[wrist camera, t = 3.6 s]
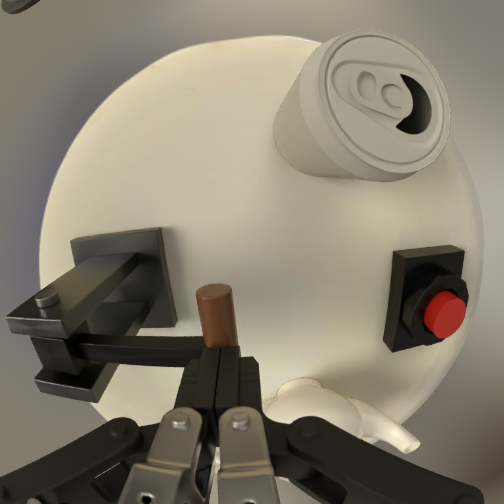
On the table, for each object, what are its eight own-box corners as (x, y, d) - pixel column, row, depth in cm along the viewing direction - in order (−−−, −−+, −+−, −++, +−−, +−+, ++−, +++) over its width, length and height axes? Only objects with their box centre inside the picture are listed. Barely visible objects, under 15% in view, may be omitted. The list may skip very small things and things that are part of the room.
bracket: (161, 226, 21) (82, 286, 10) (177, 320, 23) (137, 426, 12) (76, 237, 21) (-21, 289, 9) (98, 321, 23) (32, 404, 12)
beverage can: (347, 184, 20) (449, 203, 9) (264, 166, 20) (293, 158, 8) (359, 106, 19) (459, 61, 7) (278, 85, 18) (317, -1, 7)
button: (427, 293, 19) (438, 303, 18) (457, 287, 19) (469, 295, 18) (419, 332, 20) (430, 342, 19) (449, 324, 20) (460, 333, 19)
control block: (392, 250, 22) (417, 265, 18) (451, 244, 22) (477, 256, 18) (382, 340, 24) (400, 364, 21) (437, 327, 25) (457, 346, 21)
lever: (234, 277, 12) (228, 302, 10) (246, 382, 14) (244, 414, 12) (41, 285, 13) (16, 302, 10) (74, 371, 14) (57, 393, 12)
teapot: (197, 356, 24) (180, 435, 15) (399, 352, 25) (442, 411, 16) (201, 422, 27) (193, 491, 18) (373, 415, 28) (399, 472, 19)
